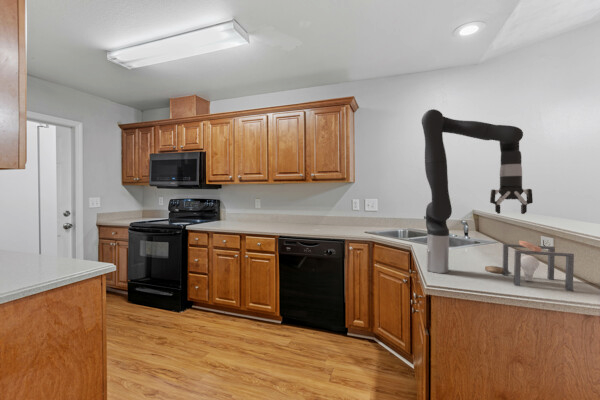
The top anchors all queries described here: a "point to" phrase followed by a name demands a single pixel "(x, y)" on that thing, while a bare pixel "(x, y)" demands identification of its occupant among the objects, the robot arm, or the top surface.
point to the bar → (530, 246)
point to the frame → (551, 256)
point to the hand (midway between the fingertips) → (510, 213)
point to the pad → (494, 269)
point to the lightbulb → (529, 266)
